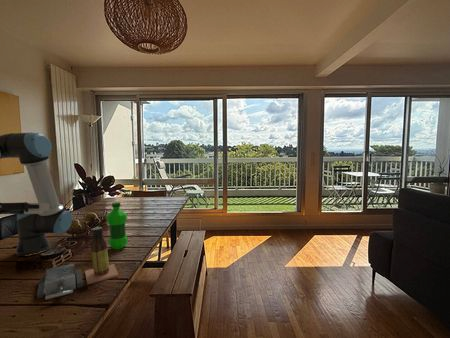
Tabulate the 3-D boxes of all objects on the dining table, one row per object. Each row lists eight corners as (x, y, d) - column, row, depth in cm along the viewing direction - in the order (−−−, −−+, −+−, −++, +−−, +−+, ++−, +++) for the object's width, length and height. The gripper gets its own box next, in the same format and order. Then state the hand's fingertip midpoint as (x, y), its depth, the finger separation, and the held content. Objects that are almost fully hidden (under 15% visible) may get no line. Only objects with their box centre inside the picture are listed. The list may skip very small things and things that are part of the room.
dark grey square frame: (40, 282, 110) (39, 270, 109) (81, 272, 117) (80, 261, 117) (35, 308, 92) (34, 294, 91) (84, 295, 99) (83, 282, 99)
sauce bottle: (111, 268, 118) (109, 225, 117) (105, 275, 112) (102, 230, 111) (96, 269, 118) (94, 225, 117) (90, 276, 112) (87, 230, 110)
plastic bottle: (132, 246, 148) (130, 202, 146) (116, 252, 139) (113, 206, 137) (120, 242, 153) (118, 200, 151) (104, 249, 144) (101, 204, 142)
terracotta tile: (85, 272, 117) (84, 270, 117) (113, 265, 124) (113, 263, 123) (87, 284, 107) (87, 282, 107) (118, 276, 113) (118, 274, 113)
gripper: (-26, 221, 102) (40, 220, 116) (-28, 216, 84) (51, 215, 98) (-23, 202, 104) (42, 203, 117) (-24, 192, 86) (52, 195, 100)
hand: (46, 208), depth 108 cm, fingers open, 13 cm apart
